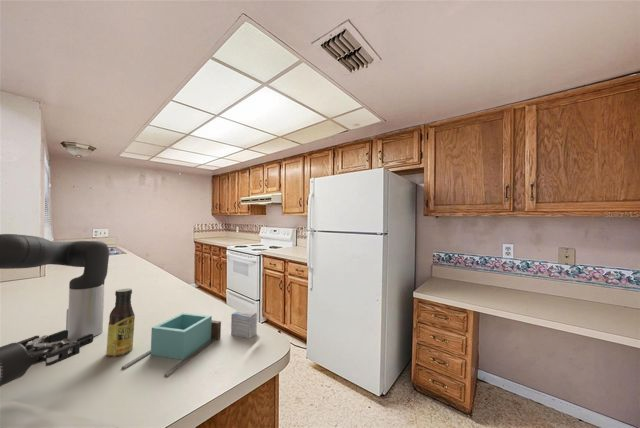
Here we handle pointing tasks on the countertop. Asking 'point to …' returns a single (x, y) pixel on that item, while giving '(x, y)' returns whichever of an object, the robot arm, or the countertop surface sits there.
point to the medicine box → (244, 323)
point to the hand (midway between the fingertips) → (79, 335)
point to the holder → (180, 335)
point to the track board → (214, 336)
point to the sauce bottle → (121, 325)
